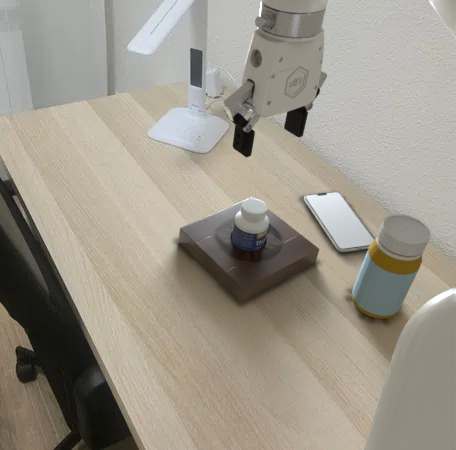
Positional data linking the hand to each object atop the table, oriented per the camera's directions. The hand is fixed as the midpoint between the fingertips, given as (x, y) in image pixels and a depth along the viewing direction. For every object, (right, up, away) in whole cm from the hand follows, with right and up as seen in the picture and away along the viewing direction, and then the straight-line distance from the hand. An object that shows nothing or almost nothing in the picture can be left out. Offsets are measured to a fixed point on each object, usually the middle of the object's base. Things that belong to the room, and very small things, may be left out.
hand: (267, 142), depth 77 cm
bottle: (+17, -23, +7) cm, 30 cm away
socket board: (-1, -16, +14) cm, 21 cm away
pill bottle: (-1, -16, +14) cm, 22 cm away
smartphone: (+17, -11, +21) cm, 29 cm away
